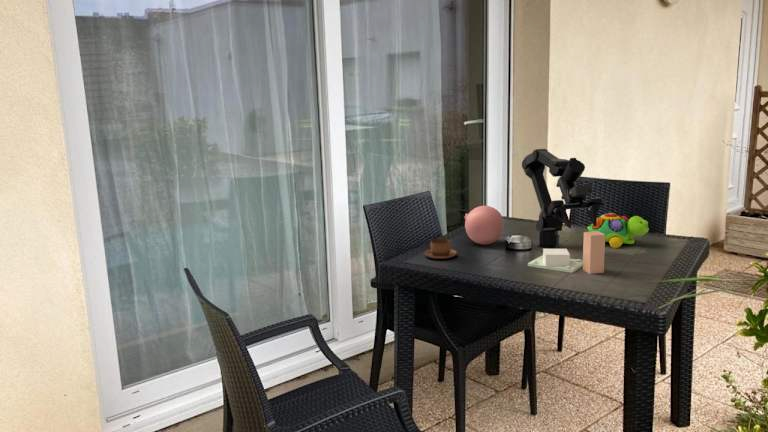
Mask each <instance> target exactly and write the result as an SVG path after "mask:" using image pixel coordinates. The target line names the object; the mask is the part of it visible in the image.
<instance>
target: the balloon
mask: <svg viewBox="0 0 768 432" xmlns="http://www.w3.org/2000/svg"><path fill="white" fill-rule="evenodd" d="M463 217H464V220H465V221H464V229H465V232H466V234H467V236H468V238H470V240H471V241H473V242H474V243H476V244H479V245H485V246H486V245H491V244H493V243H495V242H497V241H498V240H499V239H500V238H501V237H502V236H503V232H504V230H505V221H504V217H503V215H502V214H501V212H500V211H499V210H498V209H497V208H494V207H492V206H489V205H479V206H477V207H475V208H473V209H472V210H471V211H469V213H465V216H463Z"/></svg>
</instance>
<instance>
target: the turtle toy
mask: <svg viewBox="0 0 768 432" xmlns="http://www.w3.org/2000/svg"><path fill="white" fill-rule="evenodd" d="M587 230H588V232H594V231H598V232H601V233H603V234H605V243H609V245H610V247H611V248H613V249H618V248H620V247H622V245H623V244H627V245H632V244H634V243H635V239H634V238H635V237H642V236H644V235H646V234H647V233H649V230H650V229H649V222H648V221H647V220H645V219H644V218H643V217H641V216H638V215H634V216H632V217H630V218H628V217H627V216H626V215H622V216H619V215H617V213H615V212H607V213H604V214H602V215H600V216H598V217H597V225H596V226H594V225H593V224H592V223H591V224H590V225H588V226H587Z"/></svg>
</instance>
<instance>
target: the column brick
mask: <svg viewBox="0 0 768 432" xmlns="http://www.w3.org/2000/svg"><path fill="white" fill-rule="evenodd" d="M582 242H583V243H582V245H583V248H582V249H583V250H582V260H583V266H582V271H583V272H586V273H587V274H589V275H591V274H592V275H593V274H604V273H605V256H606V255H605V254H606V252H605V251H606V249H605V248H606V242H605V234H603V233H601V232H598V231H594V232H589V231H584V232H583V241H582Z"/></svg>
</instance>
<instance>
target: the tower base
mask: <svg viewBox="0 0 768 432" xmlns="http://www.w3.org/2000/svg"><path fill="white" fill-rule="evenodd" d="M527 267H530V268H537V269H538V268H539V269H545V270H551V271H558V272H563V273H564V272H565V273H571V274H573V273H575V272H576V271H578V270H579V269H582V268H583V259H581V258H577V259H575V258H571V254H570V252H569V250H568V249H567V248H542V255H540V256H538V257H536V258H535V259H533V260H530V261H529V262H527Z"/></svg>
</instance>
